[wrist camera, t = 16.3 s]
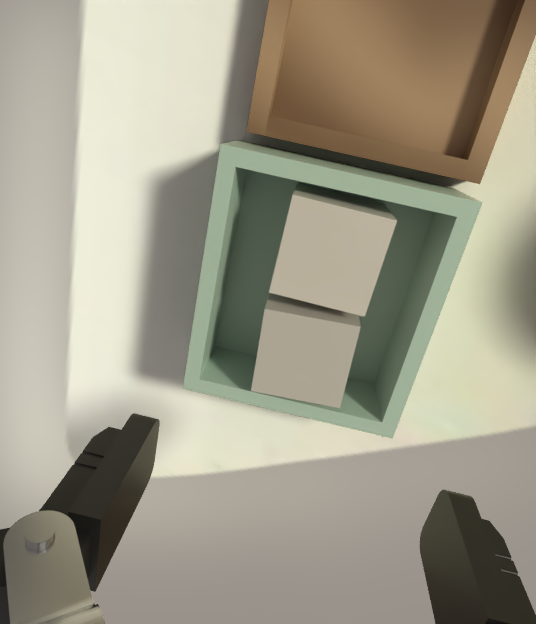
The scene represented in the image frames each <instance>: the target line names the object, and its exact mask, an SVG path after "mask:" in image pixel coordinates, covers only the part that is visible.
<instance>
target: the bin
mask: <svg viewBox="0 0 536 624" xmlns="http://www.w3.org/2000/svg"><path fill="white" fill-rule="evenodd" d="M298 182H299V183H303V184H307V185H311V186H315V187H319V188H323V189H327V190H331V191H335V192H339V193H343V194H347V195H351V196H355V197H359V198H363V199H367V200H371V201H376V202H380V203H384V204H385V205H386V207H387V208H388V209H389V211H390V212H391V213H392V214H393V216H394V217H395V218H396V220H397V223H396V226H395V229H394V232H393V235H392V238H391V241H390V244H389V246H388V249H387V252H386V255H385V258H384V261H383V264H382V267H381V270H380V273H379V276H378V279H377V282H376V285H375V288H374V291H373V294H372V297H371V300H370V303H369V306H368V309H367V312H366V315H365V317H364V316H360V315H359V320H360V325H361V328H360V332H359V336H358V340H357V344H356V348H355V352H354V355H353V359H352V363H351V367H350V371H349V375H348V379H347V383H346V387H345V390H344V394H343V398H342V402H341V406H340V408H336V407H331V406H325V405H320V404H315V403H310V402H305V401H300V400H295V399H290V398H284V397H279V396H274V395H269V394H264V393H259V392H254V391H251V388H252V382H253V376H254V370H255V364H256V358H257V352H258V346H259V340H260V334H261V328H262V322H263V316H264V310H265V306H266V303H267V300H268V297H269V290H270V286H271V281H272V277H273V273H274V269H275V265H276V261H277V257H278V253H279V249H280V244H281V240H282V236H283V232H284V228H285V224H286V220H287V216H288V212H289V207H290V203H291V199H292V195H293V193H294V190H295V188H296V186H297V183H298ZM481 205H482V202H480V201H478V200H476V199H474V198H472V197H470V196H468V195H466V194H464V193H462V192H460V191H458V190H456V189H453V188H449V187H444V186H440V185H435V184H431V183H426V182H422V181H417V180H413V179H409V178H404V177H400V176H395V175H391V174H386V173H382V172H377V171H373V170H369V169H364V168H360V167H355V166H351V165H346V164H342V163H337V162H333V161H328V160H324V159H320V158H315V157H311V156H306V155H302V154H297V153H293V152H288V151H284V150H279V149H275V148H271V147H266V146H262V145H257V144H253V143H248V142H244V141H239V140H237V141H232V142H227V143H222V144H221V145H220V151H219V158H218V164H217V171H216V177H215V183H214V190H213V196H212V203H211V209H210V216H209V222H208V229H207V235H206V241H205V248H204V254H203V261H202V267H201V274H200V280H199V287H198V293H197V300H196V306H195V312H194V319H193V325H192V332H191V338H190V345H189V351H188V358H187V364H186V370H185V377H184V383H183V389H187V390H191V391H196V392H200V393H204V394H208V395H212V396H217V397H221V398H225V399H229V400H233V401H238V402H242V403H246V404H250V405H254V406H259V407H263V408H267V409H271V410H275V411H280V412H284V413H288V414H292V415H296V416H301V417H305V418H309V419H313V420H317V421H322V422H326V423H330V424H334V425H338V426H343V427H347V428H351V429H355V430H359V431H363V432H368V433H372V434H376V435H380V436H384V437H389V438H393V435H394V433H395V430H396V428H397V425H398V422H399V420H400V417H401V414H402V412H403V409H404V407H405V404H406V401H407V399H408V396H409V393H410V391H411V388H412V386H413V383H414V380H415V378H416V375H417V373H418V370H419V367H420V365H421V362H422V359H423V357H424V354H425V352H426V349H427V346H428V344H429V341H430V339H431V336H432V333H433V331H434V328H435V325H436V323H437V320H438V318H439V315H440V312H441V310H442V307H443V304H444V302H445V299H446V297H447V294H448V291H449V289H450V286H451V284H452V281H453V278H454V276H455V273H456V270H457V268H458V265H459V263H460V260H461V257H462V255H463V252H464V249H465V247H466V244H467V242H468V239H469V236H470V234H471V231H472V229H473V226H474V223H475V221H476V218H477V215H478V213H479V210H480V208H481Z"/></svg>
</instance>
